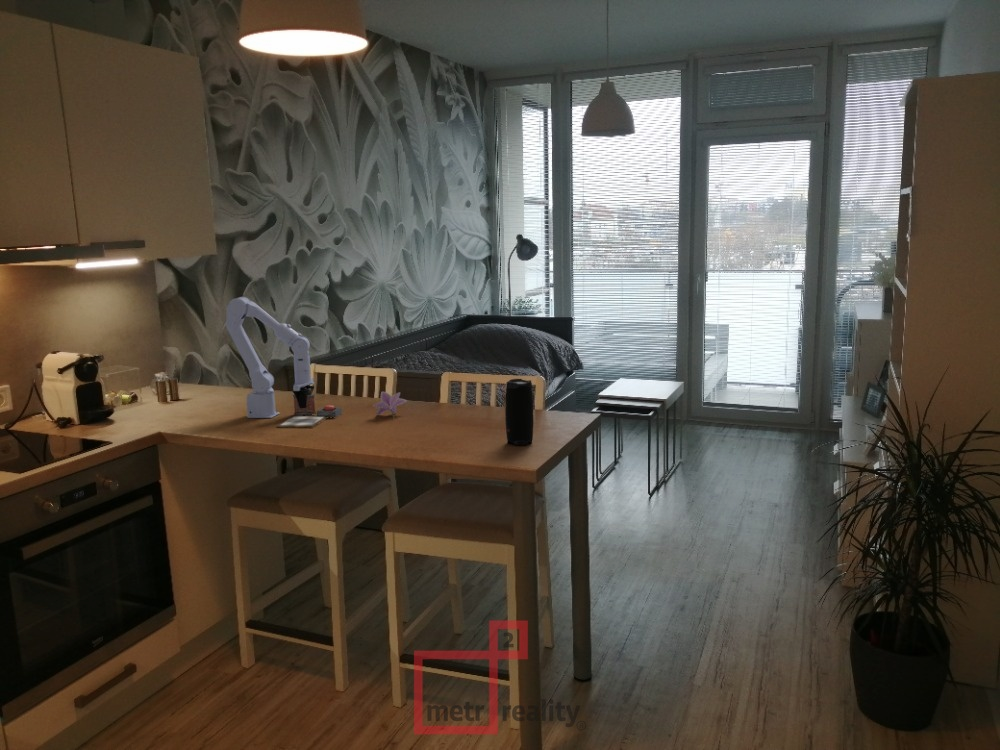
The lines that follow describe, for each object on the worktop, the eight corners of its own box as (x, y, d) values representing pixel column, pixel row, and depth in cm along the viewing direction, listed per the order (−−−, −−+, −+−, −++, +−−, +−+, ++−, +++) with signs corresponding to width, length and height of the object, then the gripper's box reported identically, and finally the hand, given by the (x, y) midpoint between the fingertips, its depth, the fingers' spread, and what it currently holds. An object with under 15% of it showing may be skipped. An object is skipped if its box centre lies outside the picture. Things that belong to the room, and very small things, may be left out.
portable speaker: (510, 447, 238) (508, 384, 234) (503, 440, 247) (501, 379, 243) (537, 445, 240) (536, 382, 236) (529, 438, 249) (528, 377, 245)
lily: (412, 417, 287) (405, 392, 289) (405, 411, 276) (398, 385, 278) (382, 427, 287) (374, 403, 290) (373, 422, 276) (366, 397, 278)
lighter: (317, 413, 291) (315, 386, 289) (314, 415, 288) (312, 388, 286) (296, 413, 292) (294, 386, 290) (292, 415, 288) (291, 388, 287)
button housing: (317, 417, 283) (316, 411, 283) (323, 413, 290) (323, 407, 290) (335, 418, 283) (335, 411, 282) (341, 413, 289) (341, 407, 289)
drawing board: (276, 427, 270) (276, 425, 270) (293, 417, 285) (292, 415, 284) (312, 427, 268) (312, 425, 268) (327, 418, 283) (327, 415, 283)
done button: (322, 411, 285) (322, 407, 284) (326, 409, 288) (325, 405, 288) (332, 411, 284) (332, 407, 284) (335, 409, 288) (335, 405, 287)
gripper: (305, 373, 279) (308, 411, 282) (319, 367, 293) (322, 402, 296) (286, 373, 280) (289, 410, 282) (301, 367, 294) (303, 402, 297)
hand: (304, 406), depth 289 cm, fingers closed on lighter, 3 cm apart
